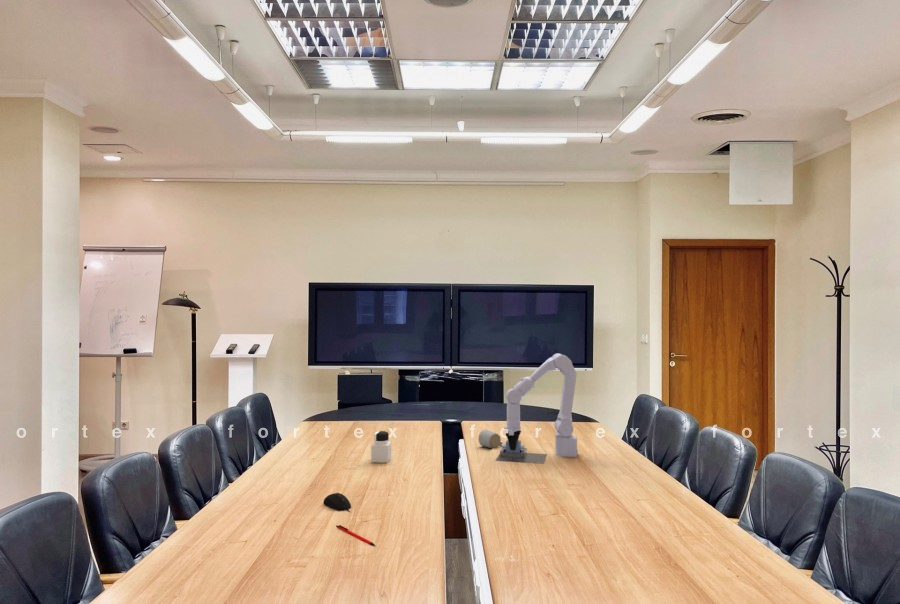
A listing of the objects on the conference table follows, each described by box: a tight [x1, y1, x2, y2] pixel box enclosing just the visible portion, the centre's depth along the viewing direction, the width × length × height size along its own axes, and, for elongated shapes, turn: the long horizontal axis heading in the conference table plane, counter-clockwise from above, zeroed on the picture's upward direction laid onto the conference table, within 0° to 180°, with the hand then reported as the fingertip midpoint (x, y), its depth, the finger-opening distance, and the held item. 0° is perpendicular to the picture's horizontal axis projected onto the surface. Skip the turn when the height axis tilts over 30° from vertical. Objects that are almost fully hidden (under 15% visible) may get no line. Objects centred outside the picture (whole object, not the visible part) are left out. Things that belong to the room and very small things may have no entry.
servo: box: [501, 439, 525, 453], centre depth 244 cm, size 9×4×6 cm, turn 75°
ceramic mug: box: [478, 428, 504, 449], centre depth 262 cm, size 11×8×8 cm
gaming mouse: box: [322, 492, 352, 513], centre depth 183 cm, size 6×15×4 cm, turn 40°
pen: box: [335, 524, 376, 547], centre depth 159 cm, size 1×19×1 cm, turn 43°
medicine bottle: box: [370, 430, 392, 464], centre depth 238 cm, size 7×7×12 cm
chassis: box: [495, 447, 548, 465], centre depth 240 cm, size 20×16×3 cm
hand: (513, 448), depth 244 cm, fingers closed on servo, 4 cm apart
